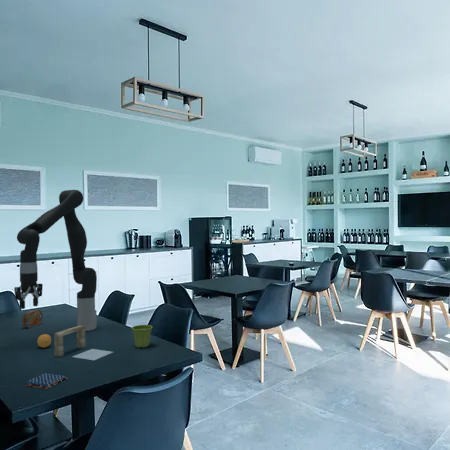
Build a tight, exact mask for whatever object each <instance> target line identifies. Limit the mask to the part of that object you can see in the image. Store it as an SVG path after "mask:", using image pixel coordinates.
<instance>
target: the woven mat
mask: <svg viewBox="0 0 450 450" xmlns="http://www.w3.org/2000/svg"><path fill="white" fill-rule="evenodd" d="M64 379H67V380H68V375H66V374H62V373H61V374H59V373H55V372H54V373H52V372H50V373H49V372H45V373H42V374H40V375H38V376H36V377H33V378H32V379H29V380H27V381H25V384H24V385H25V386H27V387H31V386H32V387H33V388H38V389H46V390H48V389H49V388H52V386H56V385H58V384H59V383H58V382H60V381H61V382H60V383H62V382H63V381H62V380H64ZM64 381H65V380H64Z"/></svg>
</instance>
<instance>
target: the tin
mask: <svg viewBox="0 0 450 450" xmlns="http://www.w3.org/2000/svg"><path fill="white" fill-rule="evenodd" d="M43 317H44V315H43V312H42V310H41V309H34V310H31V311H28V312H24V314H23V315H22V317H21V324H22V327H24V328H27V329H31V328H33V326H34V327H36V326H39V325H41V324H42V321H43ZM38 324H39V325H38ZM30 327H31V328H30Z"/></svg>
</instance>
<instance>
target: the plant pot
mask: <svg viewBox="0 0 450 450" xmlns="http://www.w3.org/2000/svg"><path fill="white" fill-rule="evenodd" d="M131 329H132V332H133V336H134V337H133V338H134V345H135V347H136V348H147V346H148V347H149V346H150V342H151V341H150V339H151V333H152V329H153V326H152V324H151V325H150V324H138V325H134V326H132V327H131Z"/></svg>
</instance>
